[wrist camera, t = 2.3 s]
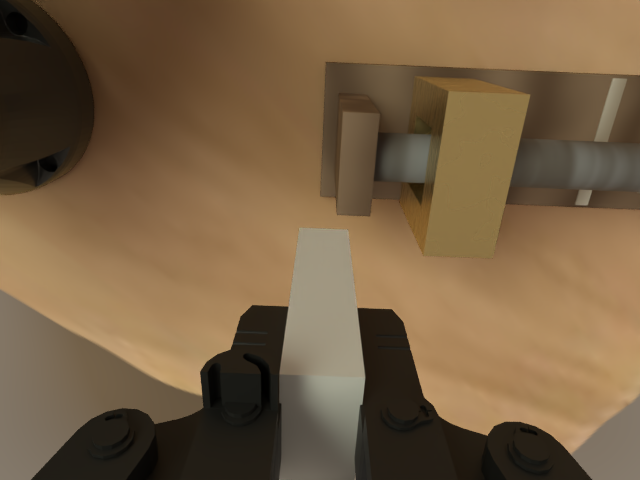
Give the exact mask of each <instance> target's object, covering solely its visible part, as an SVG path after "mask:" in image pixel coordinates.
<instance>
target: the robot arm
mask: <svg viewBox="0 0 640 480" xmlns="http://www.w3.org/2000/svg"><path fill="white" fill-rule="evenodd" d="M93 121H94V105H93V96H92V91H91V86H90V83H89V79H88V76H87V73H86V71H85V68H84V66H83V63H82V61H81V59H80V57H79V55H78V54H77V52H76V50H75V48H74V47H73V45H72V44H71V42H70V40H69V39H68V38H67V36H66V35H65V34H64V32H63V31H62V30H61V29H60V27H59V26H58V25H57V24H56V23H55V22H54V21H53V20H52V18H51V17H50V16H49V15H47V14H46V13H45V12H44V11H43V10H42V9H41V8H40V7H38V6H37V5H36V4H35V3H33V2H32V1H31V0H0V195H13V194H20V193H24V192H28V191H32V190H35V189H37V188H40V187H42V186H44V185H46V184H48V183H50V182H52V181H54V180H55V179H57V178H59V177H61V176H63V175H64V174H66V173H67V172H68V171H69V170H71V169H72V168H73V167H74V166H75V165H76V163H77V162H78V161H79V160H80V158H81V157H82V155H83V154H84V152H85V150H86V148H87V146H88V143H89V140H90V137H91V133H92V128H93ZM200 375H201V385H202V396H203V406H204V408H202V409H201V410H200V411H198V412H196V413H194V414H192V415H190V416H187V417H184V418H180V419H177V420H172V421H167V422H163V423H158V424H154V422H153V421H152V419H151V418H150V417H149V415H148V414H146V413H144V412H142V411H140V410H137V409H123V408H122V409H117V410H113V411H108V412H105V413H103V414H101V415H99V416H97V417H95V418H93V419H91V420H90V421H88V422H87V423H86V424H85V425H83V426H82V427H81V428H80V429H78V430H77V431H76V432H75V434H74V435H73V436H72V437H71V438H70V439H69V440H68V441H67V442H66V443H65V444H64V445H63V446H62V447H61V449H59V451H58V452H57V453H56V454H55V455H54V456H53V457H52V458H51V459H50V460H49V461H48V462H47V463H46V464H45V466H44V467H43V468H42V469H41V470H40V471H39V472H38V473H37V474H36V475H35V476H34V477H33V478H32V479H31V480H279V479H280V480H354V478H355V476H356V480H592V479H591V478H590V477H589V476H588V475H587V473H586V472H585V471H584V470H583V469H582V467H581V466H580V465H579V464H578V463H577V462H576V460H575V459H574V458H573V457H572V456H571V455H570V453H569V452H568V451H567V450H566V449H565V448H564V446H562V445H561V444H560V443H559V442H558V441H557V440H556V439H555V438H554V437H552V436H551V435H550V434H548V433H546V432H545V431H543V430H541V429H539V428H537V427H536V426H532V425H529V424H525V423H522V422H504V423H501V424H499V425H496V426H494V427H493V429H492V430H491V431H490V433H489V434H488V436H486V435H483V434H480V433H476V432H473V431H470V430H466V429H463V428H460V427H458V426H455V425H453V424H450V423H449V422H447V421H445V420H444V419H442V418H441V417H439V415H438V414H437V412H436V410H435V408H434V406H433V405H432V404H431V403H430V402H428V401H427V400H426V399H425V398H424V396H423V393H422V389H421V386H420V382H419V378H418V375H417V371H416V367H415V364H414V360H413V356H412V353H411V350H410V345H409V342H408V339H407V334H406V331H405V327H404V323H403V321H402V320H401V319H400V318H399V317H398V316H397V315H396V314H395V312H394V311H393V310H392V309H368V308H357V302H356V293H355V285H354V276H353V268H352V259H351V250H350V242H349V233H348V230H346V229H322V228H299V235H298V242H297V250H296V257H295V264H294V271H293V279H292V286H291V293H290V300H289V307H284V306H259V305H252V306H251V307H250V308H249V309H248V310H247V311H246V312H245V313H244V314H243V315H242V316H241V317H240V321H239V324H238V327H237V332H236V334H235V337H234V340H233V345H232V347H231V350H228V351H225V352H223V353H220V354H217V355H216V356H214V357H213V358H212V359H210V360H209V361H207V362H206V364H205V365H204V367H203V368H202V370H201V371H200Z"/></svg>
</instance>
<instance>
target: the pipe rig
mask: <svg viewBox="0 0 640 480" xmlns="http://www.w3.org/2000/svg"><path fill="white" fill-rule="evenodd" d="M415 76H422V77H445V78H468V79H477V80H480V81H484V82H487V83H491V84H494V85H498V86H501V87H505V88H508V89H512V90H515V91H519V92H522V93H526V94H529V95H530V99H529V103H528V108H527V112H526V116H525V121H524V125H523V129H522V134H521V138H520V142H519V147H518V151H517V155H516V160H515V164H514V168H513V173H512V177H511V181H510V186H509V190H508V194H507V199H506V203H505V204H517V205H541V206H565V207H590V208H614V209H638V210H640V76H638V75H615V74H591V73H568V72H545V71H522V70H499V69H476V68H453V67H430V66H407V65H384V64H360V63H337V62H326V75H325V98H324V122H323V146H322V170H321V194H320V196H322V197H336V208H337V215H349V216H370V213H371V203H372V199H395V200H400V192H401V184H402V182H406V183H424V182H425V175H426V168H427V161H428V154H429V147H430V141H431V134H408V127H409V119H410V111H411V103H412V94H413V86H414V78H415Z"/></svg>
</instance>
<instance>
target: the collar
mask: <svg viewBox="0 0 640 480" xmlns="http://www.w3.org/2000/svg"><path fill="white" fill-rule="evenodd" d="M529 99H530V95H529V94H526V93H522V92H519V91H515V90H512V89H508V88H505V87H501V86H498V85H494V84H491V83H487V82H484V81H480V80H477V79H468V78H445V77H422V76H415V78H414V86H413V94H412V103H411V111H410V119H409V127H408V134H431V141H430V147H429V154H428V161H427V168H426V175H425V182H424V183H406V182H402V184H401V192H400V201H399V203H400V205H401V207H402V209H403V211H404V214H405V216H406V218H407V220H408V223H409V225H410V227H411V229H412V232H413V234H414V236H415V238H416V240H417V243H418V245H419V247H420V249H421V252H422V254H423V256H443V257H468V258H493V255H494V251H495V247H496V242H497V238H498V234H499V229H500V225H501V221H502V216H503V212H504V208H505V203H506V199H507V194H508V190H509V186H510V181H511V177H512V173H513V168H514V164H515V160H516V155H517V151H518V147H519V142H520V138H521V134H522V129H523V125H524V121H525V116H526V112H527V108H528V103H529Z"/></svg>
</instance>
